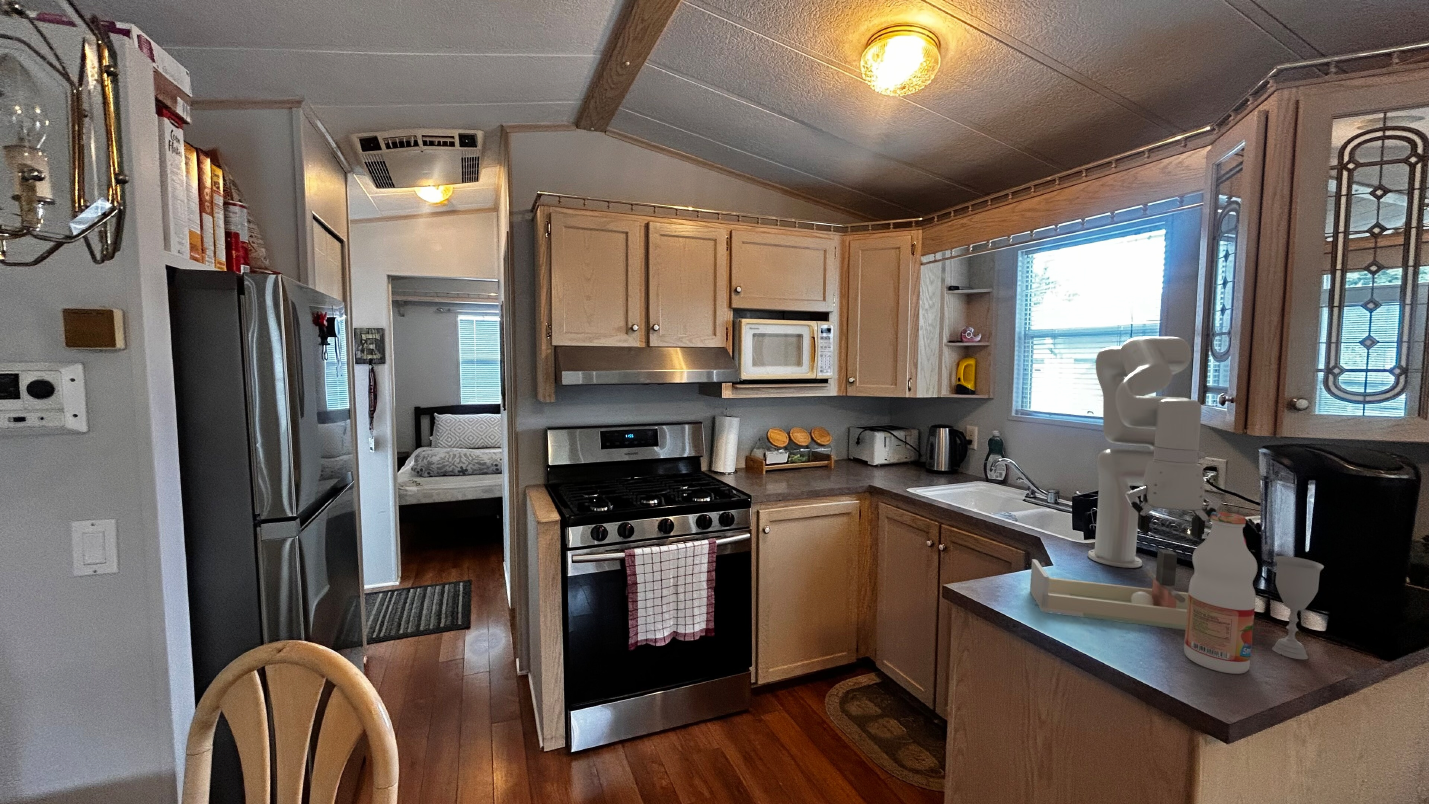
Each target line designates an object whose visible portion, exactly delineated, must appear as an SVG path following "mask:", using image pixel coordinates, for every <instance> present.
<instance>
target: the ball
mask: <svg viewBox="0 0 1429 804" xmlns="http://www.w3.org/2000/svg"><path fill="white" fill-rule="evenodd" d="M1131 602H1132V603H1135V604H1143V605H1152V606H1153V599H1152V597H1151V596H1150V595H1149V594H1147V593H1145V592H1141V591H1140V592H1136V593H1134V594H1133V595H1132V597H1131Z"/></svg>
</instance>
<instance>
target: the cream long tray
mask: <svg viewBox="0 0 1429 804" xmlns="http://www.w3.org/2000/svg"><path fill="white" fill-rule="evenodd" d="M1030 570H1031V572H1030V589H1029V593H1030V594H1031V596H1032V597H1033V599H1034V600H1036V601H1035V602H1036V604H1037V606H1038V605H1039V606H1038V607H1039V609H1040V611H1041V610H1042V611H1043V612H1042V611H1041V612H1042V613H1048V612H1052V613H1051V614H1056V613H1060V614H1059V615H1066V616H1071V615H1072V617H1079V616H1080V617H1081V618H1088V619H1097V620H1103V621H1113V622H1121V623H1126V624H1127V623H1129V624H1136V625H1145V626H1153V627H1161V628H1168V629H1176V630H1182V631H1183V630H1184V631H1185V629H1186V617H1187V606H1188V592H1185V591H1184V592H1183V591H1177V592H1178V593H1179V594H1180V595H1181V596H1183V597H1184V598H1185V602H1183V603H1181V602H1179V601H1178V600H1176V608H1169V607H1160V606H1154V605H1153V606H1152V605H1143V604H1135V603H1132V602H1131V597H1132V595H1133V594H1134V593H1136V592H1140V591H1141V592H1145V593H1147V594H1149V595H1150V596H1151V597H1152V588H1148V587H1141V586H1140V587H1138V586H1129V585H1122V584H1121V585H1119V584H1110V583H1104V582H1103V583H1102V582H1096V581H1095V582H1094V581H1093V582H1092V581H1085V580H1083V581H1082V580H1076V579H1066V578H1058V577H1051V576H1049V575H1048V573H1047V572H1046V570H1045V569H1044V568H1043V566H1042V565H1041V564H1040V562H1039V561H1038V559H1034V558H1033V559H1031V569H1030Z"/></svg>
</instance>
